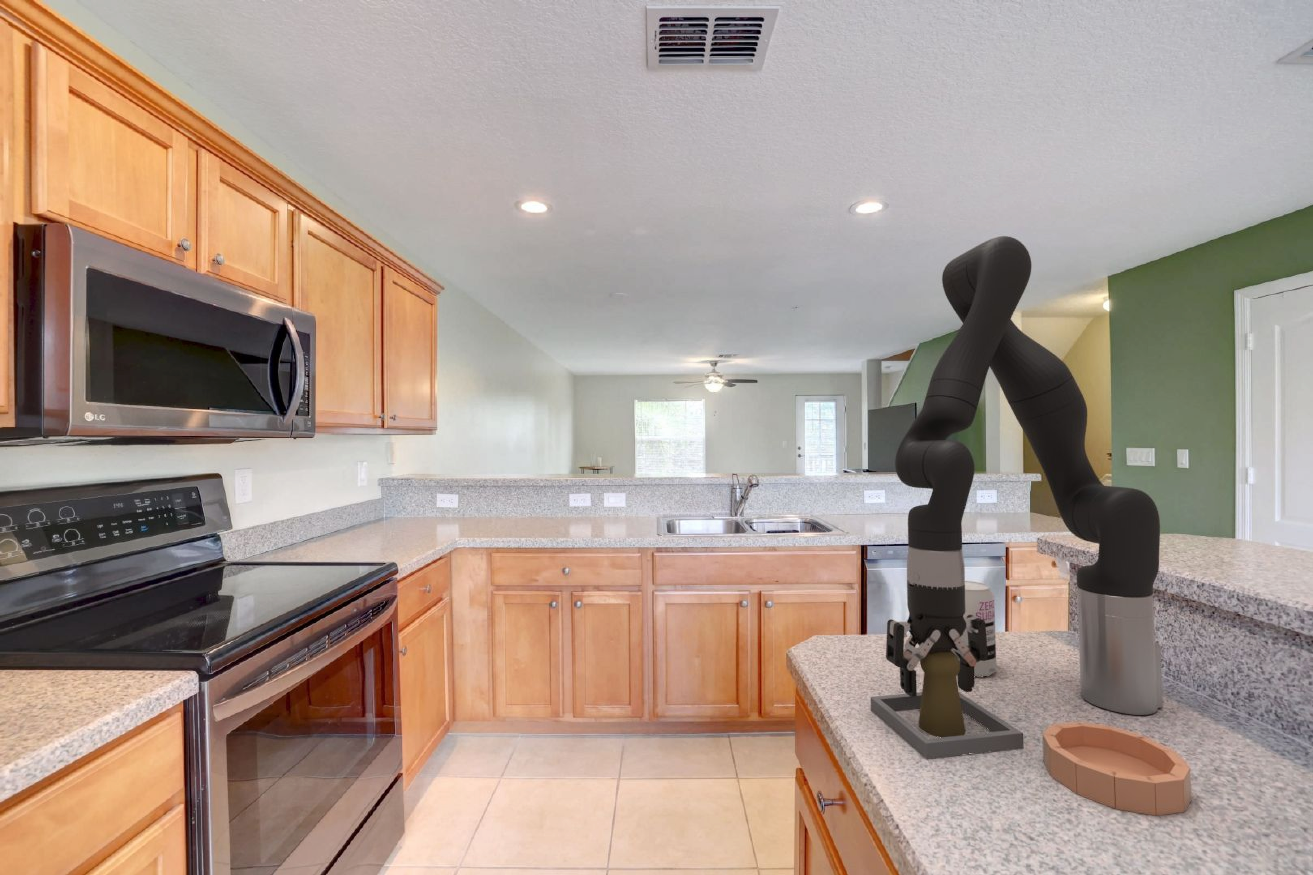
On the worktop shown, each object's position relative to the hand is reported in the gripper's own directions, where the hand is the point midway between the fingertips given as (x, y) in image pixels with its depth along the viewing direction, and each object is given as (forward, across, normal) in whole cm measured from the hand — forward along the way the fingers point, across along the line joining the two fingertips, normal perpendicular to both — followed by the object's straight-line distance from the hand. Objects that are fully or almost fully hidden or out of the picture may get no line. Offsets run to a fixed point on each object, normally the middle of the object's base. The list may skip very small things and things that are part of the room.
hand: (937, 692), depth 82 cm
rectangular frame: (+5, 0, 0) cm, 5 cm away
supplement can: (+5, -18, -18) cm, 26 cm away
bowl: (+5, -12, +15) cm, 20 cm away
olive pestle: (+5, 0, 0) cm, 5 cm away
